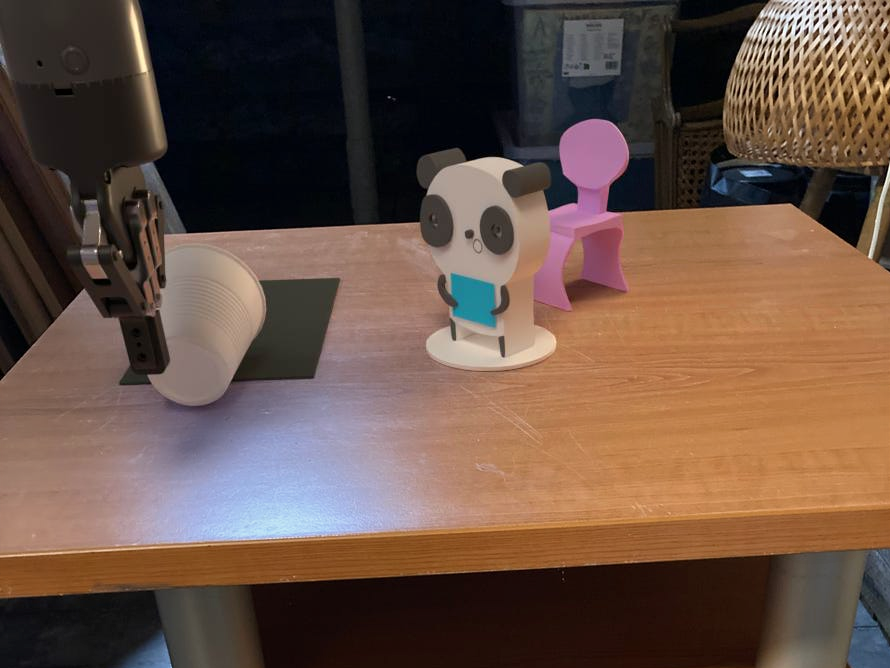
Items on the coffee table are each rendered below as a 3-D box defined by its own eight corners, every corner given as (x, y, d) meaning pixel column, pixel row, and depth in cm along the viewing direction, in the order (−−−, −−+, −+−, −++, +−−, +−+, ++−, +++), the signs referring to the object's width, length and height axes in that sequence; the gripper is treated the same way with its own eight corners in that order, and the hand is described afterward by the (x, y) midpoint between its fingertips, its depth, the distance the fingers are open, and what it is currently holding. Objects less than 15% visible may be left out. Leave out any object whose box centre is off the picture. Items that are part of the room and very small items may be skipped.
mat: (313, 378, 82) (313, 375, 82) (119, 384, 82) (118, 382, 82) (339, 279, 103) (339, 277, 103) (184, 284, 103) (184, 282, 102)
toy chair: (512, 295, 97) (511, 125, 88) (575, 275, 102) (580, 111, 93) (573, 315, 92) (579, 137, 83) (636, 293, 97) (648, 122, 88)
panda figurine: (394, 346, 87) (379, 160, 78) (484, 313, 94) (480, 137, 84) (492, 382, 80) (488, 182, 71) (582, 343, 87) (590, 155, 78)
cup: (281, 385, 76) (291, 311, 83) (183, 288, 70) (203, 217, 77) (189, 449, 80) (206, 373, 87) (89, 362, 74) (116, 288, 81)
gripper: (50, 52, 60) (120, 336, 70) (-35, 87, 49) (63, 415, 59) (175, 48, 60) (227, 332, 70) (118, 81, 49) (189, 410, 59)
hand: (152, 370), depth 65 cm, fingers closed
